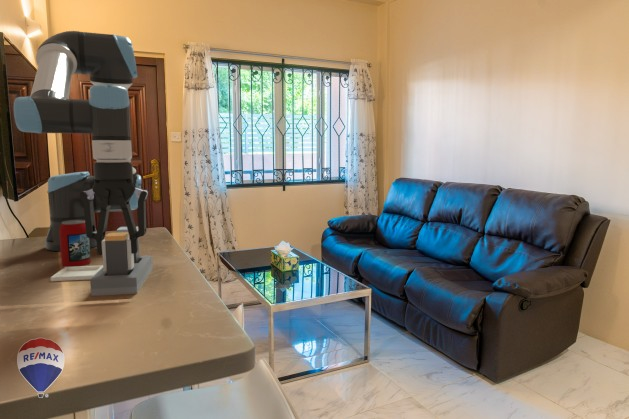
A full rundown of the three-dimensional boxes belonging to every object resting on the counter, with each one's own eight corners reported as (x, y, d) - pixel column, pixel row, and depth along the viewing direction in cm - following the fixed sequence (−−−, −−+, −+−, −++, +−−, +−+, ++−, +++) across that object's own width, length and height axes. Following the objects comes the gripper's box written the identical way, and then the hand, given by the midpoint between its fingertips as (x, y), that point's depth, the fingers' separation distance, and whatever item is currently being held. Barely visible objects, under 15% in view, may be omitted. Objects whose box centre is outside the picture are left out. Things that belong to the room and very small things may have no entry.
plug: (112, 276, 98) (109, 232, 97) (131, 276, 99) (129, 232, 97) (107, 282, 94) (104, 236, 93) (127, 281, 95) (124, 235, 94)
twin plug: (122, 267, 108) (120, 226, 106) (140, 266, 109) (138, 226, 107) (118, 271, 104) (116, 229, 103) (136, 270, 105) (134, 229, 103)
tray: (65, 272, 110) (65, 266, 110) (104, 271, 112) (104, 265, 111) (50, 283, 101) (50, 277, 101) (94, 281, 103) (93, 275, 102)
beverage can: (78, 270, 112) (75, 223, 111) (55, 268, 114) (52, 222, 112) (96, 263, 119) (93, 219, 117) (74, 262, 120) (71, 218, 118)
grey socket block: (115, 272, 111) (114, 256, 110) (153, 270, 112) (152, 255, 112) (91, 298, 91) (90, 279, 91) (137, 295, 93) (136, 277, 92)
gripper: (61, 161, 88) (70, 275, 91) (153, 161, 91) (157, 271, 94) (74, 160, 95) (81, 265, 98) (158, 160, 98) (163, 262, 101)
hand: (119, 268), depth 96 cm, fingers open, 4 cm apart
